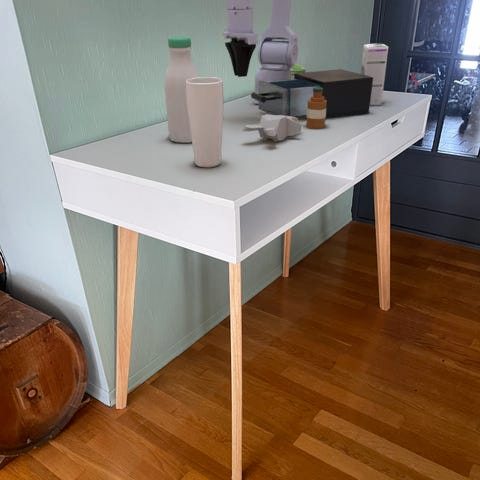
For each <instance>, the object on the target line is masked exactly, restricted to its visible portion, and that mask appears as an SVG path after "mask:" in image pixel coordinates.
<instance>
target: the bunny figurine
mask: <svg viewBox="0 0 480 480" xmlns="http://www.w3.org/2000/svg"><path fill="white" fill-rule="evenodd" d="M302 126H303V125H302V123H301V122H300V121H299V119H298V118H297V116H293V117H290V116H287V115H286V116H283V115H278V116H277V115H271V114H268V113H266V114H264V115H262V116H261V118H260V120H259V124H245V125H244V127H243V129H242V132H255V131H258V134H259V137H260V138H262V139H263V140H264V141H267V140H268V139H270V140H273V142H275V143H278V142H279V141H284V140H285V139H286V138H287V137H293V136H294V137H295V136H296V135H300V134H301V132H302Z"/></svg>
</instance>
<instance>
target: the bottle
mask: <svg viewBox="0 0 480 480" xmlns="http://www.w3.org/2000/svg"><path fill="white" fill-rule="evenodd" d="M322 92H323V88H321V87H315V88H313V96H311V99H310V100H308V105H307V115H306V122H305V123H306V125H305V127H306V128H307V129H314V130H319V129H325V126H326V119H325V117H326V104H327V101H326V100H324V97H323V96H322Z"/></svg>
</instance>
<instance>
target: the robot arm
mask: <svg viewBox="0 0 480 480" xmlns="http://www.w3.org/2000/svg"><path fill="white" fill-rule="evenodd" d="M271 1H272V2H271V12H270V13H271V14H270V24H269V27H267V28H266V29H265V30H264V31H263V32H262V33H261V34H260V39H259V34H258V33H256V32H255V31H254V9H253V8H254V0H226V8H227V10H226V15H227V16H226V19H227V28H224V29H223V32H222V36H223V37H224V39H225V40H227V39H228V40H229V39H230V41H227V42H224V46H225V49H227V52H228V54H229V58H230V61H231V65H232V70H233V75H234V76H235V77H236V76H237V77H238V78H242V77H243V78H244V77H247V76H248V73H249V69H250V63H251V59H252V56H253V54H254V51H255V50H256V48H258V49H257V60H258V63H259V65H260V66H261V67H258V68H257V69H256V70H255V71H256V72H255V76H254V93H257V94H259V81H265V82H268V83H269V81H278V80H289V79H290V70H291V68H292V67H293V66H294V65H295V64H297V61H298V57H299V48H298V47H299V46H298V43H299V39H298V36H297V34H296V32H294V31H293V30H292V29H291V27H289V26H290V18H291V10H292V9H291V8H292V0H271ZM283 40H286V41H283ZM257 45H258V47H257ZM258 102H259V101H258V100H255V99H254V101H253V104H254V105H258Z"/></svg>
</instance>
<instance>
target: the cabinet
mask: <svg viewBox="0 0 480 480" xmlns="http://www.w3.org/2000/svg"><path fill="white" fill-rule="evenodd" d="M299 78H300V79H303V80H307V81H310V82H313V83H316V84H319V85H322V88H323V92H322V96H323V97H324V100H326V101H327V104H326V117H325V120H326V119H327V120H328V119H336V118H342V117H350V116H351V117H352V116H359V115H366V114H367V115H368V114H369V113H370V99H371V92H372V84H373V77H370V76H366V75H362V74H361V73H359V72H358V73H357V72H354V71H350V70H346V69H342V68H338V69H327V70H316V71H305V72H304V73H294V79H299Z"/></svg>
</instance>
